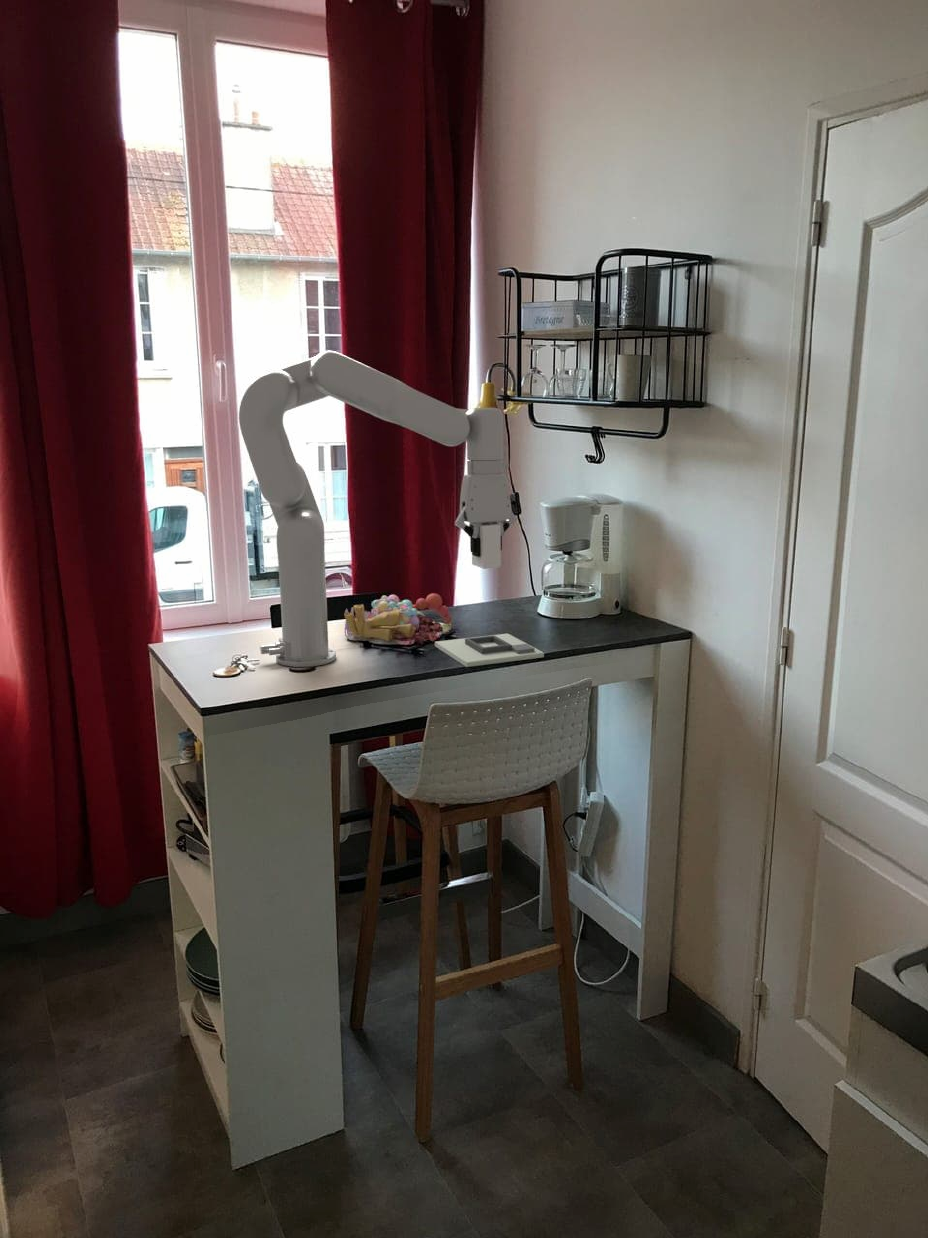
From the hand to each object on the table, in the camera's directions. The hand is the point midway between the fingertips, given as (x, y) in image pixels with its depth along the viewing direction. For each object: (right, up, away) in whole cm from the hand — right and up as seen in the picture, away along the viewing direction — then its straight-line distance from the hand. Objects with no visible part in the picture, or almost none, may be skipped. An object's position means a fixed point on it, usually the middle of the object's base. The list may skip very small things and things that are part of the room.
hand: (486, 554), depth 207 cm
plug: (0, -2, +1) cm, 2 cm away
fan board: (+1, -21, +6) cm, 22 cm away
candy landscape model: (-21, -18, +22) cm, 35 cm away
